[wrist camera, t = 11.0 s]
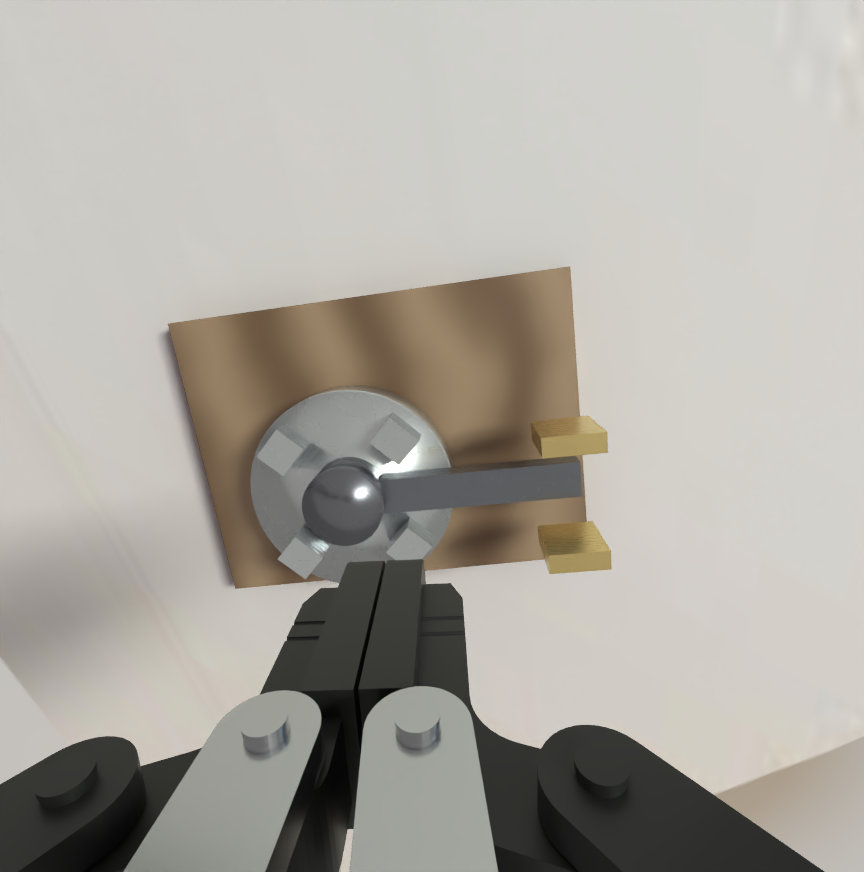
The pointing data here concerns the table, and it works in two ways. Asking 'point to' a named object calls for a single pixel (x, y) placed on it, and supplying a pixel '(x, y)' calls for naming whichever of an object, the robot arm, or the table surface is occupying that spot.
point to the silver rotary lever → (403, 483)
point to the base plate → (399, 373)
